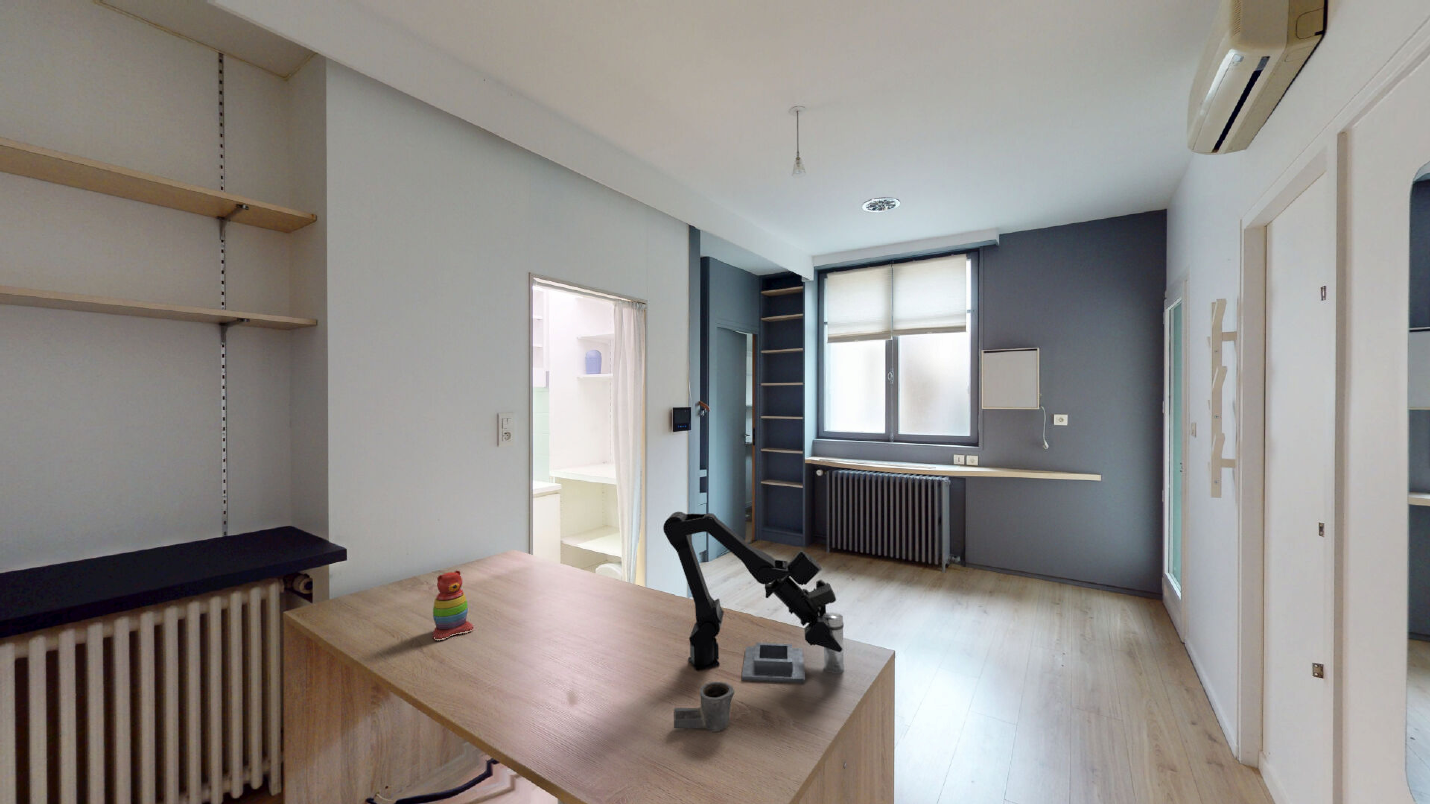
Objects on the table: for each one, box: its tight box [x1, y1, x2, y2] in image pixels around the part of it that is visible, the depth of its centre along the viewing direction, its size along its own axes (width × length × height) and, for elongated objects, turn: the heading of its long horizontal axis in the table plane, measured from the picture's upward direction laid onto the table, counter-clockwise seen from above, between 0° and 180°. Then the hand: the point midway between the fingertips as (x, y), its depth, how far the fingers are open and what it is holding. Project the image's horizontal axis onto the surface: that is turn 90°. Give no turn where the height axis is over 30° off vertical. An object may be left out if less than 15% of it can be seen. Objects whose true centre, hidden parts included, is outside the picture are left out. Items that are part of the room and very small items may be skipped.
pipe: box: [673, 681, 736, 733], centre depth 108 cm, size 6×13×8 cm, turn 95°
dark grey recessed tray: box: [741, 642, 806, 684], centre depth 132 cm, size 15×15×4 cm
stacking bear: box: [432, 570, 474, 639], centre depth 157 cm, size 11×10×18 cm
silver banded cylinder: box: [823, 611, 845, 674], centre depth 130 cm, size 5×5×13 cm
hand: (839, 641), depth 130 cm, fingers open, 9 cm apart
